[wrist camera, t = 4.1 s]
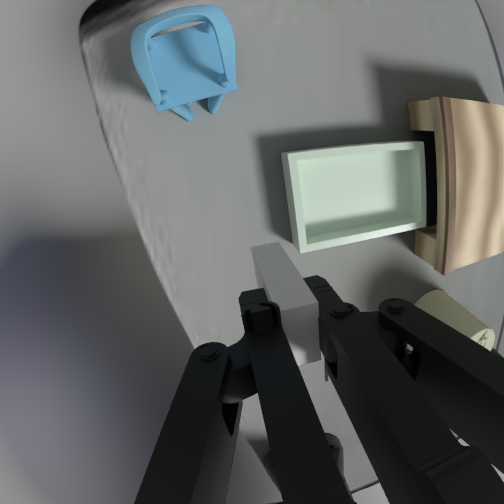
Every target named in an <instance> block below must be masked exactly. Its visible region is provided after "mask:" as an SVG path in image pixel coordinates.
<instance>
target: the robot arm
mask: <svg viewBox="0 0 504 504" xmlns="http://www.w3.org/2000/svg"><path fill="white" fill-rule="evenodd" d="M251 250H252V256H253V261H254V267H255V273H256V279H257V285H258V289H254V290H249V291H244V292H242V293H241V295H240V297H239V304H240V309H241V316H242V321H243V325H244V330H245V333H244V336H243V337H242V339H241V340H240V341H238V342H237V343H235V344H233V345H231V346H229V347H226V345H224V344H222V343H218V342H210V343H205V344H203V345H200V346H198V347H197V348H196V349H194V351H193V352H192V354H191V355H190V358H189V361H188V363H187V366H186V368H185V371H184V373H183V376H182V379H181V381H180V384H179V386H178V389H177V391H176V394H175V396H174V399H173V401H172V404H171V407H170V409H169V412H168V414H167V417H166V420H165V422H164V425H163V428H162V430H161V433H160V435H159V438H158V441H157V443H156V446H155V449H154V452H153V454H152V457H151V459H150V462H149V465H148V467H147V470H146V473H145V475H144V478H143V481H142V484H141V486H140V489H139V492H138V494H137V497H136V500H135V503H134V504H225V501H226V496H227V491H228V485H229V480H230V474H231V468H232V462H233V457H234V452H235V446H236V440H237V435H238V429H239V423H240V417H241V411H242V405H243V401H242V400H244V399H246V398H248V397H250V396H252V395H254V394H256V393H258V396H259V400H260V405H261V409H262V414H263V418H264V423H265V427H266V432H267V436H268V440H269V445H270V449H271V451H270V452H269V453H268V454H267V455H266V457H265V460H264V463H265V468H266V472H267V474H268V476H269V477H270V478H271V480H272V481H273V483H274V484H275V486H276V487H277V488H278V490H279V491H280V493H281V495H282V499H283V502H276V503H268V504H357V503H356V502H354V499H353V497H352V495H351V492H350V490H349V487H348V485H347V483H346V480H345V477H344V458H343V447H342V445H341V443H340V440H339V439H338V438H337V437H336V436H334V435H331V434H326V433H324V431H323V428H322V425H321V423H320V420H319V418H318V415H317V413H316V410H315V408H314V405H313V403H312V400H311V398H310V395H309V393H308V390H307V388H306V385H305V383H304V380H303V377H302V375H301V372H300V370H299V367H298V366H299V365H303V364H307V363H311V362H315V361H318V360H321V351H322V353H323V355H324V360H325V381H328V375H329V377H330V379H331V381H332V383H333V385H334V387H335V389H336V391H337V393H338V395H339V397H340V399H341V401H342V404H343V406H344V408H345V410H346V412H347V414H348V416H349V418H350V420H351V422H352V424H353V427H354V429H355V431H356V433H357V435H358V437H359V439H360V441H361V443H362V445H363V448H364V450H365V452H366V454H367V456H368V458H369V460H370V462H371V465H372V467H373V469H374V471H375V473H376V475H377V477H378V480H379V482H380V484H381V486H382V488H383V490H384V492H385V495H386V497H387V499H388V501H389V503H390V504H504V482H503V481H502V479H501V478H500V476H499V475H498V474H497V472H496V470H495V469H494V468H493V466H492V465H494V466H495V467H496V468H497V469H498V470H499V471H501V472H502V473H503V474H504V359H503V358H501V357H499V356H498V355H496V354H495V353H493V352H491V351H490V350H488V349H487V348H485V347H483V346H482V345H480V344H479V343H477V342H475V341H474V340H472V339H470V338H469V337H467V336H465V335H464V334H462V333H461V332H459V331H457V330H456V329H454V328H452V327H451V326H449V325H447V324H446V323H444V322H442V321H441V320H439V319H437V318H435V317H434V316H432V315H430V314H429V313H427V312H425V311H424V310H422V309H420V308H418V307H417V306H415V305H413V304H412V303H410V302H408V301H406V300H403V299H398V298H391V299H387V300H384V301H383V302H381V303H380V305H379V309H378V311H374V312H360V311H359V310H358V308H357V307H355V306H354V305H353V304H350V303H345V302H343V301H342V300H341V299H340V297H339V296H338V295H337V293H336V292H335V291H334V290H333V288H332V287H331V286H330V285H329V283H328V282H327V281H326V279H324V278H322V277H320V276H318V275H316V276H311V277H307V278H302V276H301V275H300V273H299V272H298V270H297V269H296V267H295V266H294V264H293V263H292V261H291V260H290V258H289V257H288V255H287V254H286V252H285V251H284V249H283V248H282V246H281V245H280V243H279V242H276V243H270V244H265V245H260V246H255V247H251ZM407 344H409V345H410V346H412V347H413V351H410V350H409V349H407ZM449 428H450V429H451V430H452V431H453V432H454V433H455V434H457V435H458V436H459V437H460V438H461V439H463V440H464V441H465V442H466V443H467V444H469V445H470V446H463V445H461V444H460V443H459V442H458V440H457V439H456V438H455V436H454V435H453V433H452V432H451V430H450V429H449ZM491 464H492V465H491Z"/></svg>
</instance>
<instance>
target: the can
mask: <svg viewBox="0 0 504 504" xmlns="http://www.w3.org/2000/svg"><path fill="white" fill-rule="evenodd" d="M414 305H415V306H417V307H418V308H420V309H422V310H424V311H425V312H427V313H429V314H430V315H432V316H434V317H435V318H437V319H439V320H441V321H442V322H444V323H446V324H447V325H449V326H451V327H452V328H454V329H456V330H457V331H459V332H461V333H462V334H464V335H465V336H467V337H469V338H470V339H472V340H474V341H475V342H477V343H479V344H480V345H482V346H483V347H485V348H487V349H488V350H490V351H491V350H492V347H493V344H494V340H495V334H494V331H493V330H492V329H491V328H489V327H488V326H486V325H485V324H484V323H483V322H481V321H480V320H479V319H478V318H476V317H475V316H474V315H472V314H471V313H470V312H469V311H467V310H466V309H465V308H464V307H462V306H461V305H460V304H459V303H457V302H456V301H455V300H454V299H452V298H451V297H450V296H449V295H448V294H447V293H446V292H445V291H443V290H439V289H437V290H432V291H430V292H428V293H426V294H425V295H423V296H422V297H421V298H420V299H419V300H418V301H417V302H416V303H415V304H414Z"/></svg>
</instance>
